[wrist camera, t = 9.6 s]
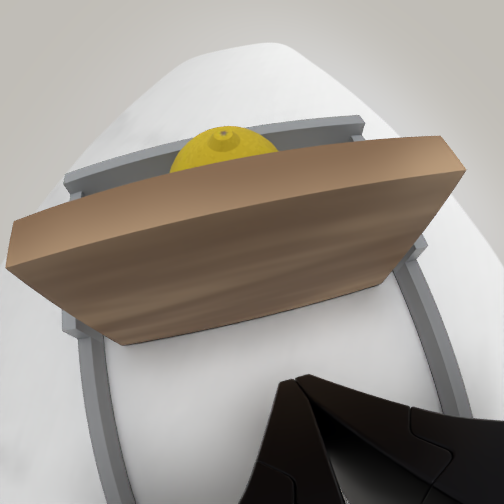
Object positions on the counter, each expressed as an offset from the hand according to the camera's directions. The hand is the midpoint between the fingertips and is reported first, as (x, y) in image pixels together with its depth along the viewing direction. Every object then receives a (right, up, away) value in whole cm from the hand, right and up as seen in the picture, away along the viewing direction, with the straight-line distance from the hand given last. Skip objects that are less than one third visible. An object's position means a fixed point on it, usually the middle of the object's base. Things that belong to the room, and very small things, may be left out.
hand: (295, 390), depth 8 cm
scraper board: (-1, +1, +8) cm, 8 cm away
